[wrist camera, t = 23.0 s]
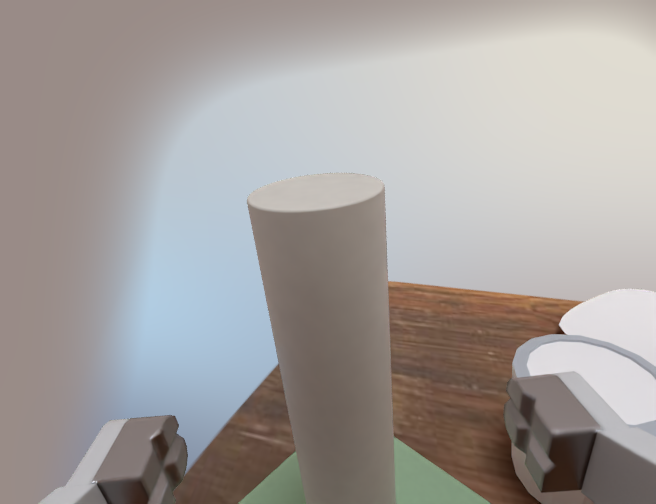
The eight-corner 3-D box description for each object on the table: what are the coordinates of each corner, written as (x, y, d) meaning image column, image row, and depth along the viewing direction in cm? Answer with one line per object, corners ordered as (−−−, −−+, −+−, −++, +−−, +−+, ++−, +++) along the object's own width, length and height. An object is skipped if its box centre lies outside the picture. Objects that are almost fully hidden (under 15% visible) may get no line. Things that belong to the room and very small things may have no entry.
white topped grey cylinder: (668, 565, 16) (722, 460, 13) (499, 509, 19) (513, 412, 16) (626, 438, 22) (658, 344, 19) (500, 408, 25) (511, 323, 22)
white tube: (413, 509, 19) (412, 178, 12) (357, 588, 16) (310, 220, 9) (349, 456, 22) (317, 168, 15) (292, 516, 19) (220, 197, 12)
